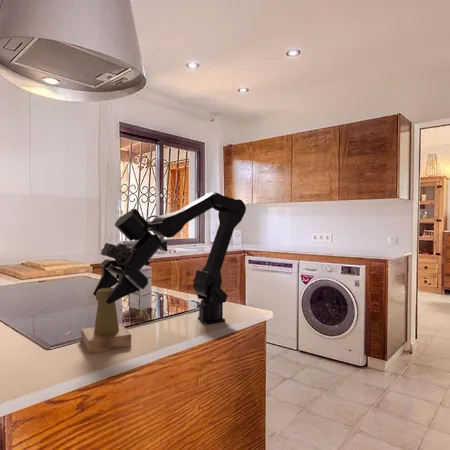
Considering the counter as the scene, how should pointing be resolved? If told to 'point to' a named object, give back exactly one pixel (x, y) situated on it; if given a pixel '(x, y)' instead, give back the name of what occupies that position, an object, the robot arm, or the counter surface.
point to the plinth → (105, 340)
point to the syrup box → (142, 293)
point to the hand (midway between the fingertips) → (100, 299)
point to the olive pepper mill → (105, 314)
